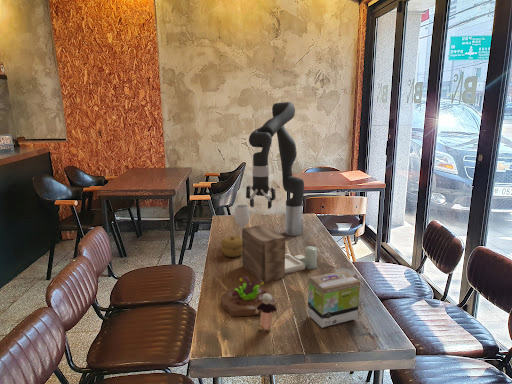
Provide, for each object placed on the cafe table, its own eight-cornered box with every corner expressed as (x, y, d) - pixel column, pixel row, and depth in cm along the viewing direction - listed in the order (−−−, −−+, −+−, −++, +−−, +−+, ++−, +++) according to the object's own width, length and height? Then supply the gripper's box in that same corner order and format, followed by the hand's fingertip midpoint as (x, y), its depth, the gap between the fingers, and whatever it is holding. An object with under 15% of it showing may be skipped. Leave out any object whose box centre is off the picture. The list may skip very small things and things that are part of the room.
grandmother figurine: (255, 331, 125) (255, 296, 122) (255, 324, 128) (255, 291, 126) (278, 331, 125) (278, 296, 122) (277, 324, 128) (278, 291, 126)
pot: (227, 249, 196) (226, 231, 193) (248, 252, 192) (247, 233, 189) (217, 257, 185) (216, 238, 182) (239, 261, 181) (239, 241, 179)
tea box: (322, 329, 126) (323, 289, 122) (306, 314, 135) (307, 276, 131) (358, 319, 132) (361, 280, 128) (341, 305, 141) (343, 268, 137)
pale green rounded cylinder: (312, 263, 178) (312, 245, 176) (319, 267, 173) (319, 249, 171) (302, 265, 175) (303, 247, 173) (309, 270, 170) (309, 251, 168)
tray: (295, 256, 185) (295, 251, 185) (312, 267, 173) (312, 261, 172) (267, 263, 178) (267, 257, 177) (282, 274, 166) (282, 268, 165)
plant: (217, 294, 150) (216, 268, 147) (263, 287, 156) (263, 262, 153) (228, 321, 131) (227, 292, 129) (280, 312, 137) (281, 284, 134)
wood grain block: (263, 261, 180) (263, 224, 176) (284, 277, 163) (285, 237, 159) (242, 266, 175) (242, 228, 171) (262, 282, 159) (262, 241, 154)
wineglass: (250, 246, 199) (249, 208, 194) (233, 246, 199) (233, 208, 195) (250, 240, 208) (250, 204, 203) (235, 240, 208) (234, 204, 203)
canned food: (355, 295, 148) (356, 269, 145) (353, 305, 141) (354, 278, 138) (335, 292, 150) (336, 266, 148) (332, 301, 143) (333, 275, 140)
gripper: (277, 174, 178) (277, 207, 182) (249, 172, 183) (249, 204, 187) (272, 177, 171) (272, 211, 175) (243, 175, 176) (244, 208, 180)
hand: (260, 207), depth 181 cm, fingers open, 8 cm apart
